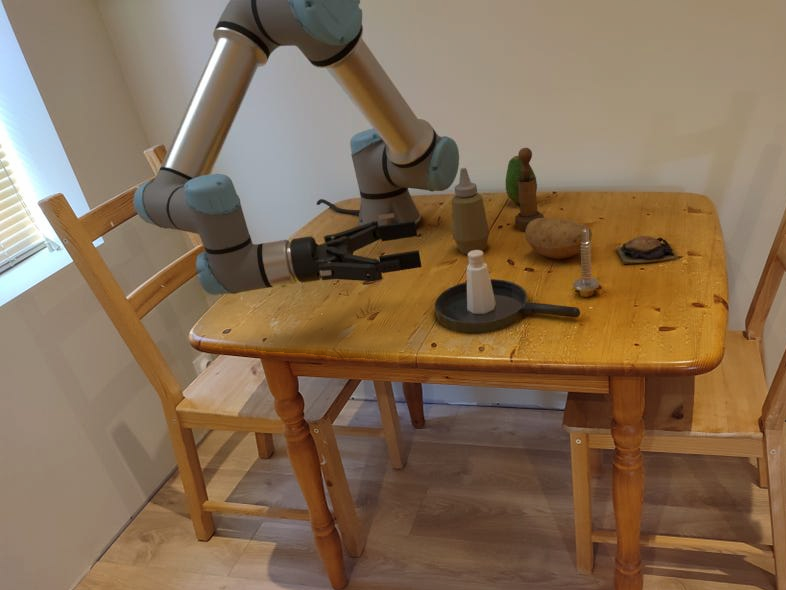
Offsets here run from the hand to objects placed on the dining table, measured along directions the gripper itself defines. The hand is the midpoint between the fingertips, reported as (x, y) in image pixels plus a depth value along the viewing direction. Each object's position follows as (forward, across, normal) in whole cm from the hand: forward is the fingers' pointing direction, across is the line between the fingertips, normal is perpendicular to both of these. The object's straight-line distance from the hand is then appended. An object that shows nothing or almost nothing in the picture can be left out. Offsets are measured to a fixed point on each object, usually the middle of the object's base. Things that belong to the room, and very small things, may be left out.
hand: (418, 242), depth 112 cm
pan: (+10, 0, -15) cm, 18 cm away
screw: (+29, 0, -15) cm, 33 cm away
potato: (+28, -18, -15) cm, 37 cm away
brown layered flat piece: (+45, -12, -15) cm, 49 cm away
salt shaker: (+10, 0, -15) cm, 17 cm away
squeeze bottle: (+11, -28, -15) cm, 34 cm away
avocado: (+27, -52, -15) cm, 61 cm away
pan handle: (+21, +7, -14) cm, 26 cm away
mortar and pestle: (+26, -37, -15) cm, 48 cm away
